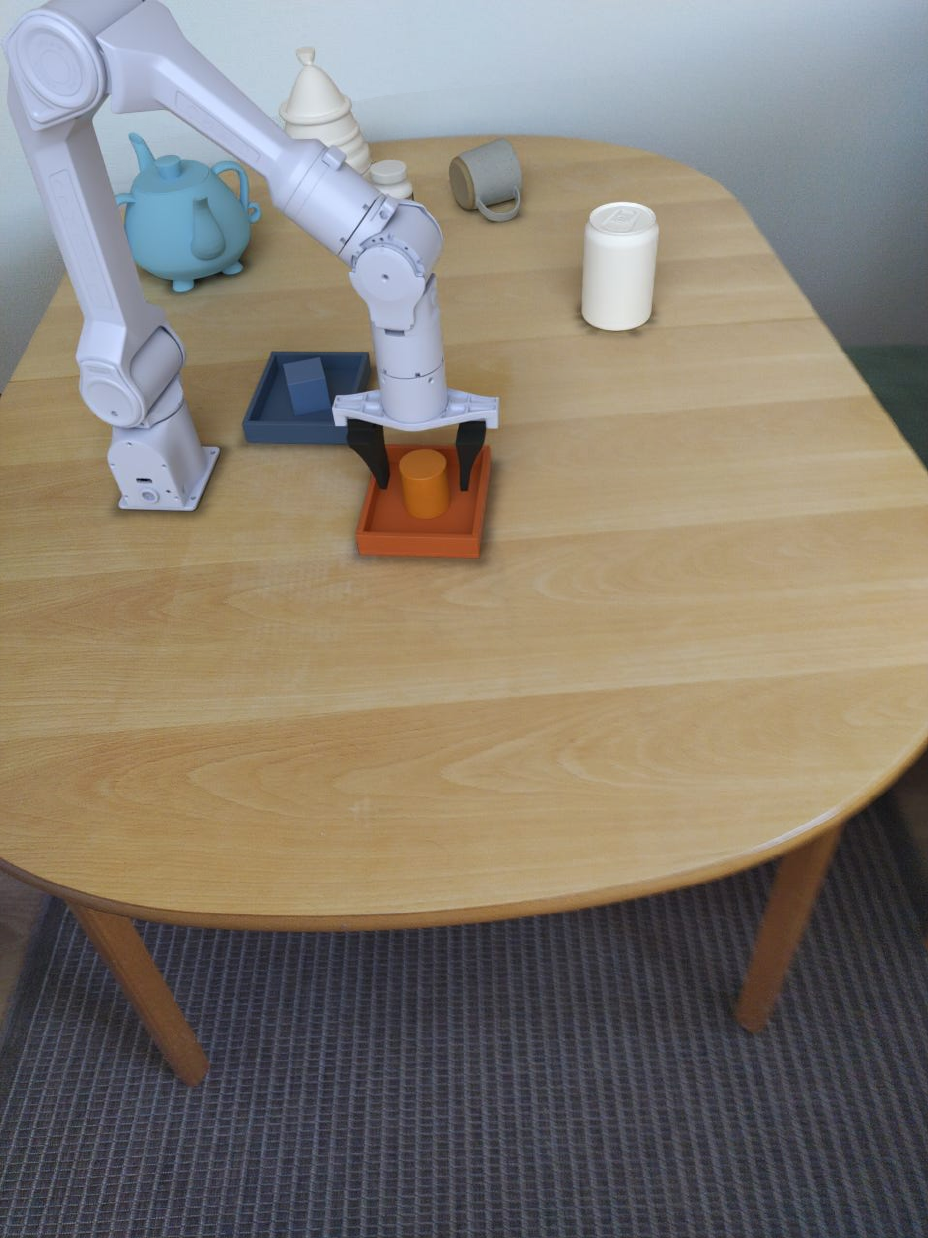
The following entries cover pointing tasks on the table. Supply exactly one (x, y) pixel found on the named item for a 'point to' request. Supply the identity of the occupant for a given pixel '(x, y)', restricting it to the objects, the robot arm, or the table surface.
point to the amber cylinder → (424, 483)
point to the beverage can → (619, 265)
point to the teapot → (186, 217)
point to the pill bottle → (392, 179)
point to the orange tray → (443, 536)
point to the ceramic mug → (487, 178)
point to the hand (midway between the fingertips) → (424, 483)
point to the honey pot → (324, 114)
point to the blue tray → (273, 404)
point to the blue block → (307, 386)
